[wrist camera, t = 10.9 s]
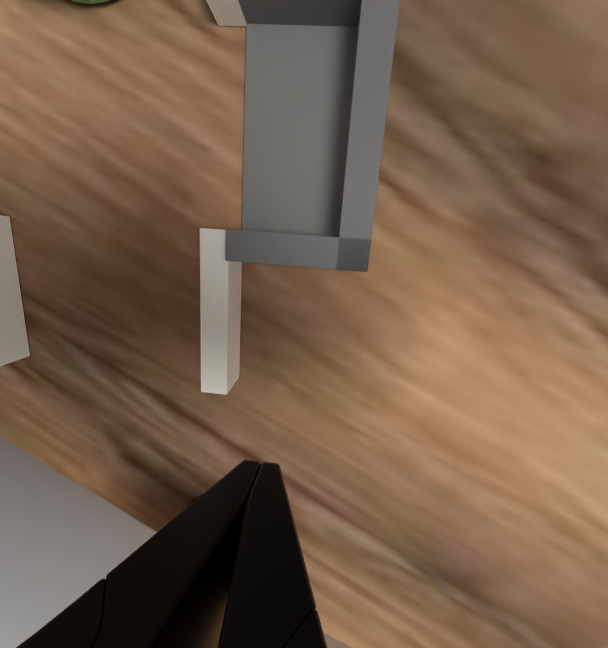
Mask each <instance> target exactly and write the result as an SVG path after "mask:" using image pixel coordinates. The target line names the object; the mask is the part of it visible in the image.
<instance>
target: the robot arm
mask: <svg viewBox="0 0 608 648" xmlns="http://www.w3.org/2000/svg"><path fill="white" fill-rule="evenodd" d="M16 648H327V645H326V642H325V638H324V634H323V630H322V627H321V623H320V619H319V615H318V612H317V611H316V604H315V601H314V597H313V593H312V589H311V585H310V581H309V577H308V573H307V570H306V566H305V562H304V558H303V554H302V550H301V546H300V542H299V539H298V535H297V531H296V527H295V523H294V519H293V515H292V511H291V508H290V504H289V500H288V496H287V492H286V488H285V484H284V480H283V477H282V473H281V469H280V466H279V464H277V463H269V462H263V463H262V464H261V463H260V462H259V461H252V460H244V461H242V462H241V463H240V464H238V465H237V466H236V467H235V468H234V469H232V470H231V471H230V472H229V473H228V474H227V475H225V476H224V477H223V478H222V479H221V480H219V481H218V482H217V483H216V484H215V485H213V486H212V487H211V488H210V489H209V490H207V491H206V492H205V493H204V494H203V495H201V496H200V497H199V498H198V499H196V500H194V501H193V502H192V503H191V505H190V506H188V507H187V508H186V509H185V510H184V511H182V512H181V513H180V514H179V515H178V516H176V517H175V518H174V519H173V520H172V521H170V522H169V523H168V524H167V525H166V526H164V527H163V528H162V529H161V530H160V531H159V532H157V533H156V534H155V535H154V536H153V537H151V538H150V539H149V540H148V541H147V542H145V543H144V544H143V545H142V546H141V547H139V548H138V549H137V550H136V551H135V552H133V553H132V554H131V555H130V556H129V557H128V558H126V559H125V560H124V561H123V562H122V563H120V564H119V565H118V566H117V567H116V568H114V569H113V570H112V571H111V572H110V573H109V574H107V576H106V580H105V579H101V580H100V581H99V582H97V583H96V584H95V585H94V586H93V587H91V588H90V589H89V590H88V591H87V592H85V593H84V594H83V595H82V596H81V597H80V598H78V599H77V600H76V601H75V602H73V603H72V604H71V605H70V606H68V607H67V608H66V609H65V610H64V611H62V612H61V613H60V614H58V615H57V616H56V617H55V618H54V619H52V620H51V621H50V622H49V623H47V624H46V625H45V626H44V627H42V628H41V629H40V630H39V631H37V632H36V633H35V634H34V635H32V636H31V637H30V638H28V639H27V640H26V641H24V642H23V643H22V644H20V645H19V646H18V647H16Z"/></svg>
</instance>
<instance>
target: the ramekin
mask: <svg viewBox="0 0 608 648" xmlns="http://www.w3.org/2000/svg"><path fill="white" fill-rule="evenodd" d="M71 1H74V2H79V3H84V4H96V3H102V2H106V1H109V0H71Z"/></svg>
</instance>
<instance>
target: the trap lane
mask: <svg viewBox="0 0 608 648" xmlns="http://www.w3.org/2000/svg"><path fill="white" fill-rule="evenodd" d="M206 1H207V3H208V5H209V7H210V9H211V11H212V14H213V16H214V18H215V20H216V22H217V24H218V26H242V27H246V70H245V114H244V157H243V201H242V231H241V230H227V229H226V230H220V229H206V228H200V317H201V392H207V393H217V394H226V395H227V393H228V392H229V391H230V389H231V388H232V387H233V385H234V384H235V382H236V381H237V380H238V378H239V369H240V327H241V285H242V262H246V263H259V264H272V265H285V266H298V267H310V268H323V269H336V270H349V271H362V272H367V270H368V262H369V253H370V245H371V237H372V228H373V220H374V212H375V203H376V195H377V186H378V178H379V170H380V161H381V153H382V145H383V136H384V128H385V120H386V111H387V103H388V95H389V86H390V78H391V69H392V61H393V53H394V44H395V36H396V28H397V19H398V11H399V3H400V0H206ZM28 356H30V352H29V345H28V338H27V332H26V325H25V318H24V311H23V305H22V298H21V291H20V284H19V277H18V271H17V264H16V257H15V250H14V244H13V237H12V230H11V223H10V217H9V216H1V215H0V366H2V365H5V364H8V363H11V362H14V361H17V360H19V359H22V358H25V357H28Z"/></svg>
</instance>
